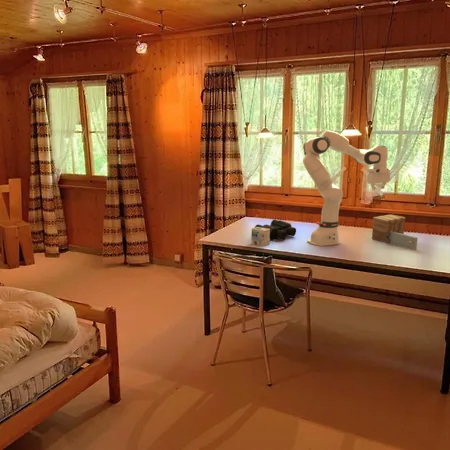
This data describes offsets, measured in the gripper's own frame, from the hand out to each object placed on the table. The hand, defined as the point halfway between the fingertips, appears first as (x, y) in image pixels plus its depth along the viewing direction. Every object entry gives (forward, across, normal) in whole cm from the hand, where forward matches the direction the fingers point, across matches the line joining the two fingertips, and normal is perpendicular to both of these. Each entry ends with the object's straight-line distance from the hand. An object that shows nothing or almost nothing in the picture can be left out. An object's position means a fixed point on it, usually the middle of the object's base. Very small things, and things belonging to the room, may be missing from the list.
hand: (378, 189), depth 306 cm
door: (+34, +4, +25) cm, 43 cm away
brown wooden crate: (+34, -4, +9) cm, 36 cm away
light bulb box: (+34, +79, -29) cm, 91 cm away
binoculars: (+34, +57, -39) cm, 77 cm away
